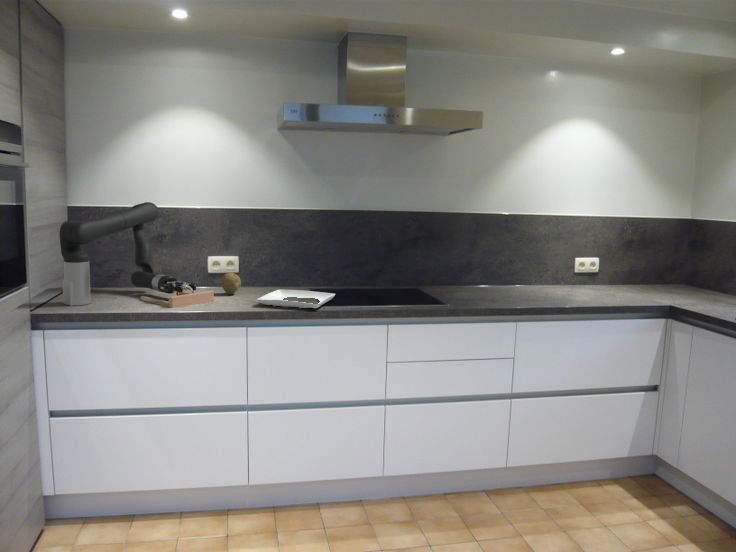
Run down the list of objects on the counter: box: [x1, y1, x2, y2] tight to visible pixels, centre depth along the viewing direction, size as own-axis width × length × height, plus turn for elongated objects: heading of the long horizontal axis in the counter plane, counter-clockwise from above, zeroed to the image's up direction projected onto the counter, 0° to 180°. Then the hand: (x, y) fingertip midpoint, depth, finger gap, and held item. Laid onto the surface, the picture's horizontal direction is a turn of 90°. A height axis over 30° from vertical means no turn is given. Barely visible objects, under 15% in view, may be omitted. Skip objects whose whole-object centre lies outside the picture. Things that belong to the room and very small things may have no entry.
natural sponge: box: [220, 272, 242, 296], centre depth 271 cm, size 9×9×10 cm
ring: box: [175, 283, 195, 296], centre depth 250 cm, size 7×3×8 cm, turn 99°
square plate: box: [256, 289, 336, 309], centre depth 257 cm, size 27×27×4 cm
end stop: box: [168, 290, 215, 309], centre depth 248 cm, size 20×2×4 cm, turn 143°
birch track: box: [140, 290, 192, 308], centre depth 254 cm, size 20×20×2 cm
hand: (188, 288), depth 248 cm, fingers closed on ring, 6 cm apart
